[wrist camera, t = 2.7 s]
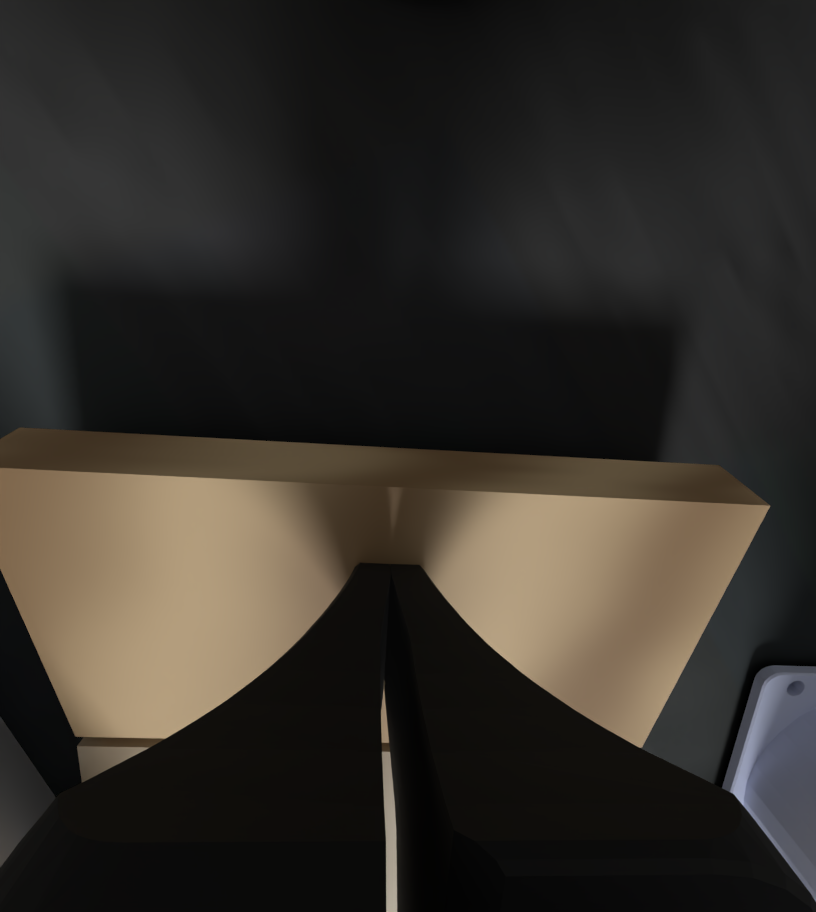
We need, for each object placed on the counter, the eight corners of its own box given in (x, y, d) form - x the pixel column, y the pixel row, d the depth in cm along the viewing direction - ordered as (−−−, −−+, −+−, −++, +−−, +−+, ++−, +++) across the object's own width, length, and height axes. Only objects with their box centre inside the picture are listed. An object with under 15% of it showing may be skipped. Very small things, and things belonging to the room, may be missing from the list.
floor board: (612, 710, 14) (639, 756, 13) (568, 918, 16) (586, 979, 15) (112, 699, 13) (77, 746, 12) (138, 919, 16) (110, 983, 14)
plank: (719, 465, 10) (769, 505, 9) (616, 693, 14) (641, 747, 13) (19, 427, 9) (-46, 465, 8) (109, 680, 13) (75, 737, 12)
